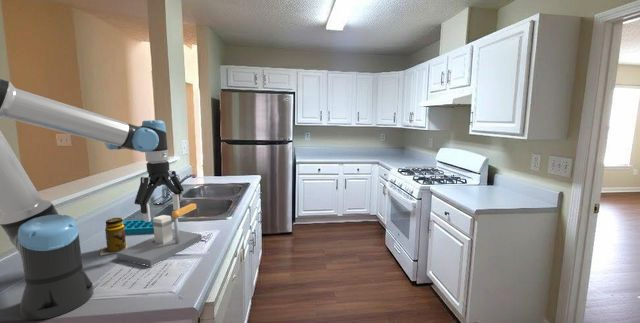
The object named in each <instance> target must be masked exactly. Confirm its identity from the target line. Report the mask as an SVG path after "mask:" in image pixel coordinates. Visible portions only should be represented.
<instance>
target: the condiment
mask: <svg viewBox="0 0 640 323" xmlns="http://www.w3.org/2000/svg"><path fill="white" fill-rule="evenodd" d="M104 231H105V240H106V241H105V242H106V246H105V247H101V248H100V254H99V255H100V256H104V255H111V254H116V253H118V252H120V251H122V250H125V249H127V248H128V242H127V241H126V235H125V229H124V225H123V218H122V217H112V218H108V219H106V221H105V229H104Z"/></svg>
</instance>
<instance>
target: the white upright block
mask: <svg viewBox="0 0 640 323" xmlns="http://www.w3.org/2000/svg"><path fill="white" fill-rule="evenodd" d="M152 219H153V222H152V224H153V226H154V233H153V235H154V236H153V237H154V238H155V243H158V244H165V243H167V242H169V241H172V240H173V237H172V229H173V228H172V227H173V225H172V224H173V220H172V215H168V214H167V215H166V214H162V215H159V216H158V215H157V216H156V217H155V216H154V217H153V218H152Z"/></svg>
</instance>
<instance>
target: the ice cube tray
mask: <svg viewBox="0 0 640 323" xmlns="http://www.w3.org/2000/svg"><path fill="white" fill-rule="evenodd" d="M122 221H123V220H122ZM152 222H153V218H151V221H150V222H147V221H144V219H133V220H132V219H131V220H129V219H128V220H124V221H123V225H124V229H125V236H126V235H134V234H135V235H137V234H151V233H152V234H154V226H153V224H152Z"/></svg>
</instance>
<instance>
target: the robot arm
mask: <svg viewBox="0 0 640 323" xmlns="http://www.w3.org/2000/svg"><path fill="white" fill-rule="evenodd" d="M1 119H7V120H12V121H15V122H20V123H24V124H29V125H31V126H35V127H40V128H44V129H48V130H51V131H56V132H60V133H65V134H68V135H72V136H75V137H76V136H77V137H80V138H84V139H89V140H93V141H97V142H101V143H103V144H104V145H105V147H106V148H107V149H108V150H110V151H112V150H117V151H119V150H130V151H136V152H140V153H145V161H146V162H147V163H146V172H147V174H148V176H141V177H140V184H139V187H138V191H137V193H136V196H135V200H134V205H139V206H140V213H141V214H142V215H143V217H142V218H143V219H142V220H144V221H147V222H150V221H151V219H152V218H151V208H150V204H149V200H150V199H151V197H152V195H153V193H154V191H155V190H156V189H157V188H158V187H161V186H166V187H167V188H168V189H169V190H170V191H171V192H172V195H171V197H172V198H171V199H172V207H173V208H172V209H173V210H172V211H176V210H178V209H180V208H181V207H180V205H181V204H180V201H181V196H180V195H182V192H184V188H183V185H182V184H181V181H180V180H179V179H178V176H177V171H175V170H170V162H169V161H168V160H169V150H168V149H169V148H168V140H167V138H168V137H167V134H168V132H167V127H166V123H165V121H164V120H160V119H158V120H157V119H156V120H151V119H150V120H143V121H142V122H141V125H139V126H138V125H134V124H131V123H128V122H125V121H122V120H119V119H115V118H112V117H108V116H106V115H102V114H101V113H97V112H93V111H90V110H87V109H83V108H80V107H78V106H74V105H70V104H68V103H64V102H60V101H57V100H55V99H51V98H48V97H45V96H42V95H39V94H35V93H32V92H29V91H25V90H23V89H19V88H16V87H15V86H14V85H13V83H12V82H11V81H8V80H5V79H1V78H0V120H1ZM0 213H1V217H0V226H1V228H2V229H3V230H4V232H5V234H6V235H7V237H8V239H9V241H10V242H11V244H12V245H13V246H14V247H15V248H16V250H17V252H18V254H19V255H20V257H21V260H22V261H21V262H22V268H23V274H24V279H25V280H24V281H25V286H24V291H23V293H22V296H21V300H20V303H19V311H20V316H21V318H23V319H25V320H28V321H29V320H30V321H34V320H35V321H36V320H37V321H39V320H46V319H50V318H54V317H57V316H60V315H63V314H66V313H68V312H71V311H74V310H75V309H77V308H79V307H81V306H82V305H84V304H86V303H87V302H88V301H89V300H90V299H91V298H92V297H93V295H94V286H93V283H92V281H91V279H90V278H89V276H88V274H87V273H86V271H85V270H84V268H83V259H82V258H83V257H82V250H81V243H80V234H79V233H80V228H79V225H78V222H77V220H76V219H75V218H74V217H73V216H70V215H66V214H63V215H62V214H59V212H58V210H57V209H56V207H55V205H54V203H52V201H51V200H46V199H42V197H41V195H40V194H39V192H38V191H37V188H36V187H35V185H34V184H33V182H32V180H31V179H30V176H29V175H28V173H27V172H26V171H25V169H24V167H23V166H22V164H21V162H20V160H19V159H18V157H17V155H16V154H15V152H14V151H13V149H12V147H11V145H10V143H9V142H8V141H7V139H6V137H5V136H4V134H3V132H2V131H1V129H0Z"/></svg>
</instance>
